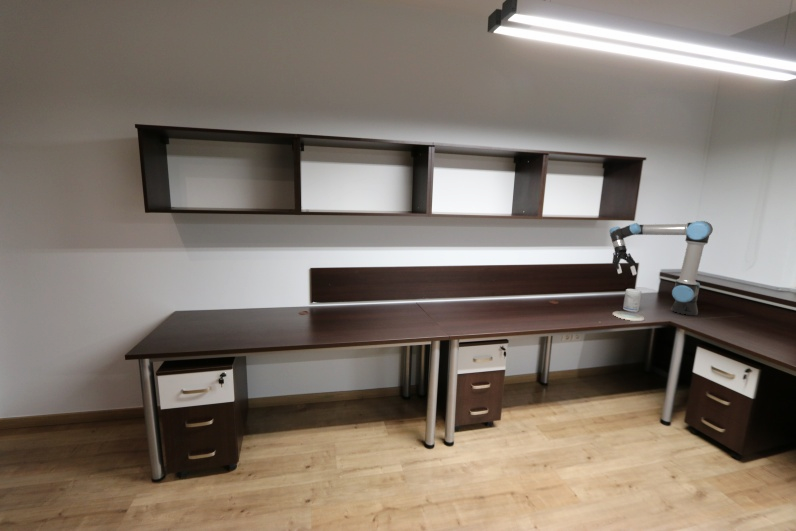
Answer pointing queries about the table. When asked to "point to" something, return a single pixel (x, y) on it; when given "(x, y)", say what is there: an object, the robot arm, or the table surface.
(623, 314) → the ceramic plate
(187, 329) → the table surface
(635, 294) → the supplement tub
